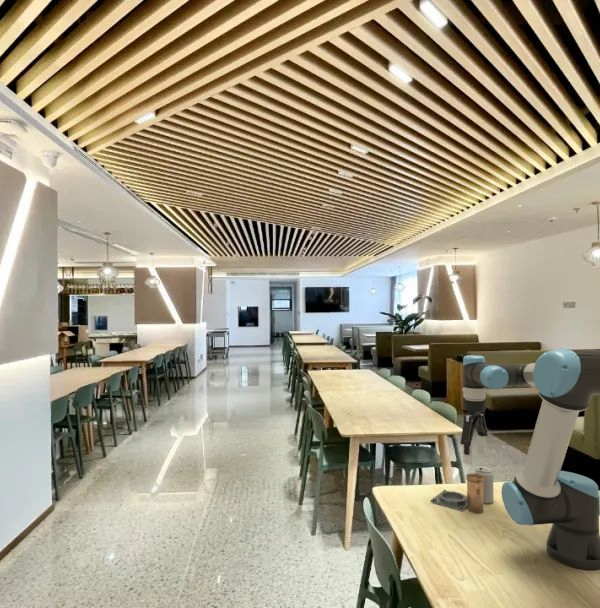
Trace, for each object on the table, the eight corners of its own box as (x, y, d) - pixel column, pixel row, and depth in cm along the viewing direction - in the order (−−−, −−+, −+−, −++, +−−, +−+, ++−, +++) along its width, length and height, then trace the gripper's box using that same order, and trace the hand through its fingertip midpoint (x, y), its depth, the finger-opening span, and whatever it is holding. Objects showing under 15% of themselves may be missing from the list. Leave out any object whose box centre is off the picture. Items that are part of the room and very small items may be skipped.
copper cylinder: (486, 509, 165) (486, 475, 165) (480, 515, 161) (480, 480, 161) (470, 505, 169) (469, 472, 169) (464, 510, 164) (464, 476, 164)
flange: (474, 500, 173) (474, 495, 173) (462, 511, 163) (462, 505, 164) (443, 492, 180) (443, 487, 180) (430, 502, 171) (430, 497, 171)
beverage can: (478, 496, 177) (478, 464, 177) (495, 500, 173) (495, 468, 173) (472, 501, 172) (472, 469, 172) (490, 506, 168) (490, 473, 168)
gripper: (475, 392, 177) (475, 448, 177) (450, 403, 158) (450, 465, 158) (496, 395, 172) (496, 452, 172) (472, 406, 153) (472, 470, 153)
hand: (474, 458), depth 165 cm, fingers open, 13 cm apart
